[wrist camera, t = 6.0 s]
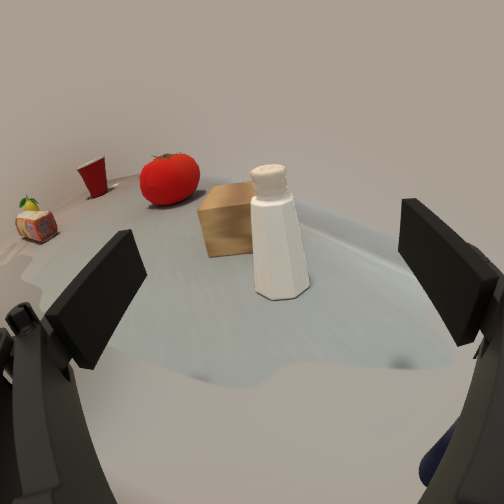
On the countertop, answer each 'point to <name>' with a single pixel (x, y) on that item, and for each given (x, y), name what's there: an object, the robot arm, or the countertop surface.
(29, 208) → the lemon
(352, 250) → the countertop surface
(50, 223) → the snack package
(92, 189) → the plastic cup
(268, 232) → the salt shaker
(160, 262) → the countertop surface
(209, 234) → the wood block
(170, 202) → the tomato
